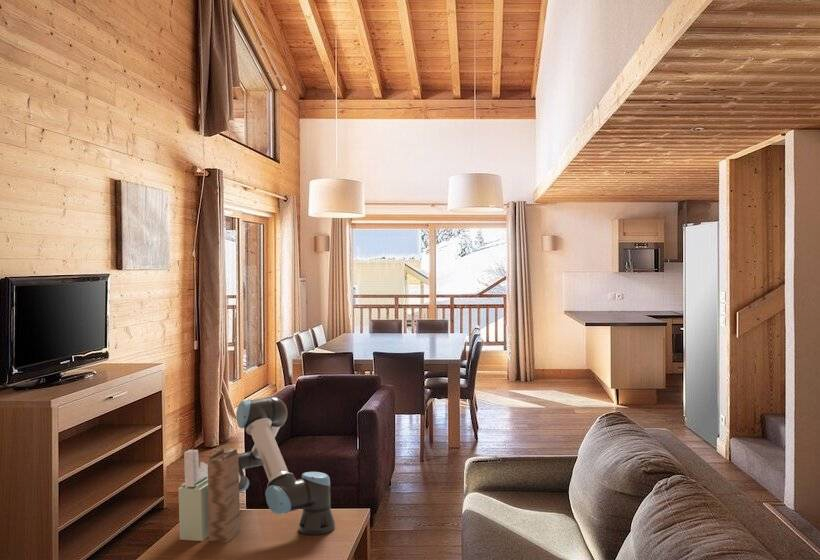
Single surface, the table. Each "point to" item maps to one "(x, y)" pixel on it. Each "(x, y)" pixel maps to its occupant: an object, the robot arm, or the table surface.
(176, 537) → the table surface
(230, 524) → the walnut stand
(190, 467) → the stepped metal block
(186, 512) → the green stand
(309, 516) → the robot arm
